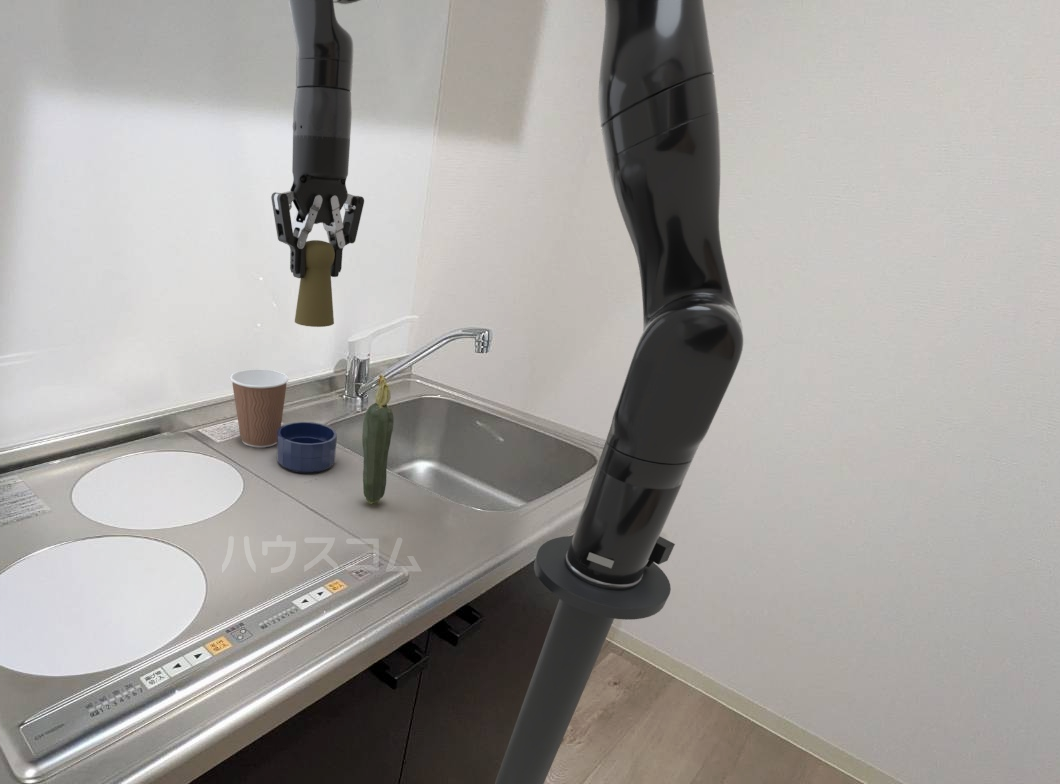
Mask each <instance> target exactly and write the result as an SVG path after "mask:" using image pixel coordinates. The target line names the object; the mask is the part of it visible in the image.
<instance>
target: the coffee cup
mask: <svg viewBox="0 0 1060 784" xmlns="http://www.w3.org/2000/svg"><path fill="white" fill-rule="evenodd" d="M229 379H230V381H231V382H232V384H231V385H232V390H233V391H232V392H233V398H234V404H235V410H236V416H237V417H236V418H237V423H238V430H239V436H240V439H241V442H242V443H243V444H244V445H246V446H248V447H251V448H258V449H260V448H270V447H273V446H275V445H277V431H278V429H279V428H280V427H281V426H282V421H283V414H284V406H285V399H286V393H287V392H286V391H287V385H288V384H287V383H288V382H289V380H290V379H289V376H288V375H287V374H286V373H284V372H281V371H278V370H274V369H268V368H247V369H241V370H237V371H235V372H233V373H231V375H230V377H229Z"/></svg>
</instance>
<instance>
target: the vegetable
mask: <svg viewBox="0 0 1060 784" xmlns="http://www.w3.org/2000/svg"><path fill="white" fill-rule="evenodd" d="M377 377H379V379H378V383H377V385H378V386H377V390H376V392H375V395H374V396H375V397H374V400H375V402H374V403H372V404H371V405H370V406H368V408H367V409H366V411H365V413H364V417H363V423H362V436H361V437H362V439H361V441H362V452H363V471H362V485H363V487H362V489H363V495H364V498H365V500H366V502H368V503H369V504H370V505H372V504H374V503H378V502H379V501H380V500H381V499H382V498H383V497H384V496H385V492H386V486H387V474H388V473H387V467H388V459H389V450H390V446H391V440H392V434H393V431H394V421H395V419H394V414H393V410H392V409H391V407H390V406H389V405H388V404H389V402H390V400H391V389H390V387H389V384H388V383H387V378H386V377H385V376H384V375H382V374H379V375H377Z"/></svg>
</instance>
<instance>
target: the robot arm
mask: <svg viewBox="0 0 1060 784" xmlns="http://www.w3.org/2000/svg"><path fill="white" fill-rule="evenodd" d="M361 1H362V0H288V6H289V11H290V18H291V24H292V29H293V34H294V39H295V44H296V66H295V70H296V71H295V96H294V97H295V98H294V104H293V111H292V112H293V113H292V116H293V117H292V167H291V168H292V169H291V171H292V177H293V179H292V180H293V181H292V185H291V187H290V190H288V191H284V192H276V191H275V192H273V193H271V197H270V198H271V199H270V200H271V205H272V211H273V216H274V223H275V229H276V230H275V231H276V236H277V241H279V242H280V243H283V244H285V245H287V246H289V247H288V248H289V250H290V253H289V254H290V255H289V256H290V257H289V270H290V272H291V274H292V276H293V277H294V278H297V279H301V278H304V276H305V249H303V248H304V246H305V243H306V241H308V237H309V234H310V233H311V232H312V231H313V227H314V225H319V224H322V226H323V229H324V231H325V232H326V235H327V240H328V243H330V244H331V245H332V246H333V248H334V252H335V258H334V262H333V264H332V265H331V267H330V272H331V278H337V277H339V273H341V271H342V267H343V266H342V263H343V251H344V248H345V246H348V245H349V244H354V243H355V242H356V240H357V236H358V231H359V226H360V222H361V219H362V214H363V210H364V205H365V199H364V197H363V196H362V195H361V196H360V195H353V194H350V193H348V189H347V184H346V181H347V178H348V176H349V167H350V164H349V163H350V150H351V149H350V148H351V133H352V131H351V130H352V118H353V117H352V114H353V113H352V111H353V110H352V83H353V67H354V41H353V37H352V35H351V34H350V33H349V31H347V30H346V29H345V28H344V27H343V26H342V25H341V24H340V23H339V21H338V20H337V16H336V12H335V5H339V6H343V5H344V6H345V5H351V4H355V3H358V2H361ZM604 12H605V17H604V18H605V19H604V32H603V41H602V52H601V59H600V60H601V61H600V69H599V77H598V78H599V79H598V115H599V124H600V128H601V136H602V143H603V147H604V152H605V153H604V154H605V158H606V159H605V160H606V165H607V169H608V174H609V178H610V182H611V185H612V189H613V192H614V193H613V194H614V197H615V200H616V203H617V206H618V208H619V212H620V214H621V217H622V220H623V222H624V225H625V228H626V231H627V233H628V236H629V238H630V241H631V243H632V247H633V249H634V253H635V256H636V259H637V264H638V270H639V277H640V285H641V298H642V300H641V301H642V316H643V319H642V320H643V322H642V323H643V331H642V334H641V336H640V337H639V340H638V342H637V345H636V347H635V350H634V352H633V355H632V358H631V361H630V364H629V368H628V371H627V373H626V377H625V379H624V383H623V386H622V389H621V392H620V395H619V397H618V401H617V404H616V406H615V410H614V412H613V416H612V418H611V419H612V420H611V424H610V427H609V430H608V433H607V436H606V439H605V442H604V446H603V448H602V452H601V455H600V457H599V459H598V463H597V466H596V469H595V472H594V475H593V478H592V480H591V483H590V487H589V490H588V493H587V496H586V499H585V501H584V504H583V507H582V510H581V512H580V515H579V518H578V522H577V524H576V527H575V530H574V532H573V535H572V536H573V538H572V541H571V544H570V547H569V550H568V551H567V553H566V556H565V565H566V567H567V569H568V570H569V571H570V572H571V573H572V574H573V575H574V576H576V577H577V578H579V579H580V580H582V581H584V582H586V583H588V584H591V585H593V586H596V587H599V588H603V589H608V590H629V589H632V588H635V587H636V586H638V585H639V583H640V581H641V579H642V576H643V572H644V570H645V567H646V566H647V567H650V565H651V564H652V563H655V564H656V565H657V566H659V565H661V564H663V563H665V562H668V561H669V558H670V556H671V554H672V552H673V550H674V547H675V545H676V543H674V542H672V541H670V540H668V539H666V538H664V537H662V536H661V533H662V531H663V529H664V528H665V524H666V522H667V520H668V518H669V515H670V514H671V511H672V509H673V506H674V505H675V502H676V499H677V497H678V495H679V493H680V490H681V488H682V486H683V483H684V481H685V479H686V476H687V474H688V472H689V469H690V467H691V465H692V463H693V460H694V458H695V456H696V454H697V451H698V449H699V447H700V445H701V443H702V442H703V441H704V439H705V437H706V436H707V434H708V432H709V430H710V428H711V424H712V423H713V421H714V418H715V417H716V414H717V413H718V410H719V408H720V406H721V404H722V402H723V399H724V397H725V395H726V392H727V390H728V388H729V386H730V384H731V382H732V380H733V377H734V375H735V372H736V370H737V367H738V365H739V363H740V360H741V357H742V353H743V349H744V348H743V347H744V332H743V325H742V320H741V316H740V314H739V312H738V309H737V306H736V304H735V300H734V296H733V293H732V288H731V285H730V280H729V277H728V273H727V268H726V264H725V258H724V255H723V248H722V242H721V234H720V200H721V199H720V198H721V133H720V116H719V106H718V105H719V104H718V98H717V87H716V79H715V74H714V73H715V72H714V66H713V65H714V64H713V58H712V52H711V46H710V45H711V44H710V39H709V31H708V26H707V25H708V24H707V18H706V11H705V4H704V0H604ZM292 203H293V205H294V207H295V209H296V212H295V215H294V219H293V221H292V217H291V209H292V207H293V205H292ZM342 208H344V210H345V211H344V215H343V218H342V214H341V210H342Z"/></svg>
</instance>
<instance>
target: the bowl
mask: <svg viewBox="0 0 1060 784" xmlns="http://www.w3.org/2000/svg"><path fill="white" fill-rule="evenodd" d="M337 440H338V433H337V431H336V430H335V429H334V428H333V427H331V426H329V425H326V424H323V423H320V422H314V421H297V422H289V423H286V424H283V425H281V427H280V428H279V429H278V431H277V443H276V460H277V463H278V464H279V465H281V466H282V467H284V468H285V469H287V470H289V471H292V472H295V473H300V474H313V473H315V474H316V473H320V472H323V471H326V470H327V469H329V468H331V467H332V466H333V465H335V462H336V457H337V442H338V441H337Z"/></svg>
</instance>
